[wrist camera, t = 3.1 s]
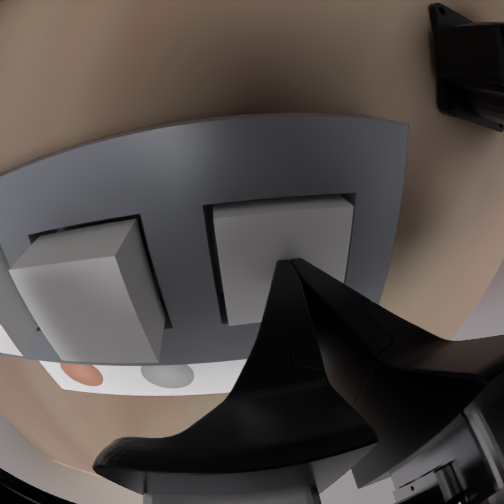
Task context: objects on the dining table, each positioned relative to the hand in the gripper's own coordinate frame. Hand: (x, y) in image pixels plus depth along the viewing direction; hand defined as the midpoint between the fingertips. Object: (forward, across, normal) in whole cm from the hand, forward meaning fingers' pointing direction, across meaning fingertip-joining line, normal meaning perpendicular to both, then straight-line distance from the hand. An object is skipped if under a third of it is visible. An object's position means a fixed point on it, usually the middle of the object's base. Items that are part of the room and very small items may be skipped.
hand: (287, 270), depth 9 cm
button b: (+2, 0, 0) cm, 2 cm away
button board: (+3, +7, 0) cm, 8 cm away
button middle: (+1, +7, 0) cm, 7 cm away
